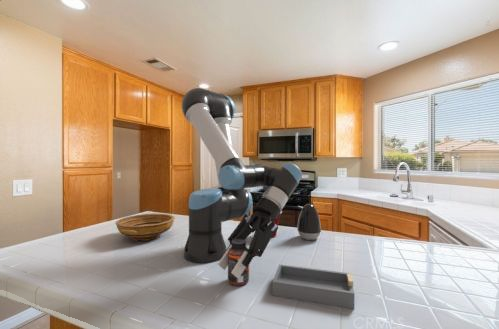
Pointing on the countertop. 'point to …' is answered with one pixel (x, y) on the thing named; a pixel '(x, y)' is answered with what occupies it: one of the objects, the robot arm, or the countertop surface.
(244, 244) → the supplement bottle
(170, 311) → the countertop surface
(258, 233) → the robot arm
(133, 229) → the brown woven oval bowl
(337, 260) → the countertop surface
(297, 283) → the trough
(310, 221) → the pump dispenser
